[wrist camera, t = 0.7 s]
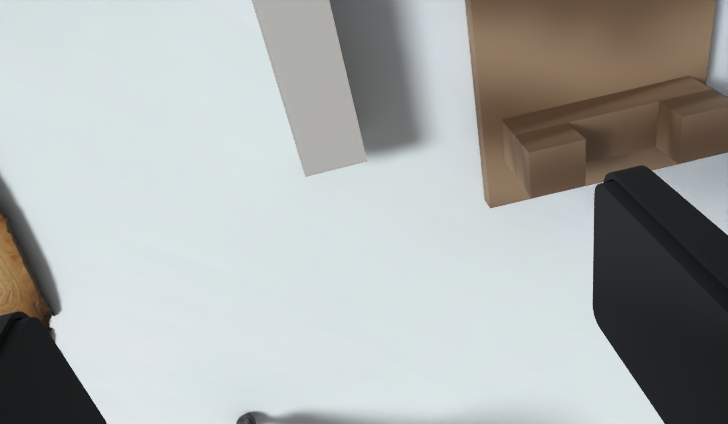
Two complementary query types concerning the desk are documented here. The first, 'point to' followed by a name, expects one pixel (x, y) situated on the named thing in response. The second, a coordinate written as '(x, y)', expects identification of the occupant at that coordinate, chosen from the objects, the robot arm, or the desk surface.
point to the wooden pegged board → (590, 90)
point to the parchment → (18, 280)
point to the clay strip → (312, 82)
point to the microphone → (246, 420)
